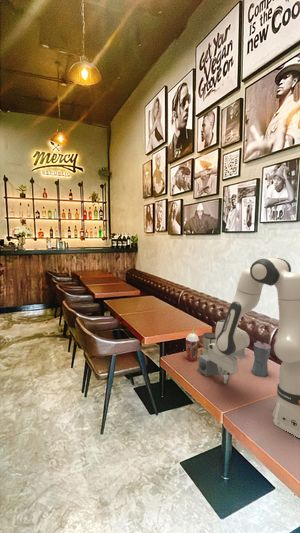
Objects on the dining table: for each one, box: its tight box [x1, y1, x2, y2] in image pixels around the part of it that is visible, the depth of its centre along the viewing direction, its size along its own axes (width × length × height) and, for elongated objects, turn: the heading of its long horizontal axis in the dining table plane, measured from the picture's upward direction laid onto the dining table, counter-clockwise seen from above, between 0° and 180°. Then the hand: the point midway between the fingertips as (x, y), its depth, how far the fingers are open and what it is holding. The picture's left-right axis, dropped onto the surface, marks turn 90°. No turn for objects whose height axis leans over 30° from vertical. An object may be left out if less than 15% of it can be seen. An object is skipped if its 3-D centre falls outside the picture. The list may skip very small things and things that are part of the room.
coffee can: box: [201, 332, 216, 355], centre depth 183 cm, size 10×10×14 cm
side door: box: [223, 371, 231, 385], centre depth 150 cm, size 2×21×8 cm, turn 156°
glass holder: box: [232, 348, 246, 360], centre depth 185 cm, size 9×14×15 cm, turn 29°
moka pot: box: [251, 339, 272, 378], centre depth 159 cm, size 10×15×20 cm, turn 11°
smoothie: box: [185, 328, 200, 362], centre depth 175 cm, size 8×8×20 cm
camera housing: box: [197, 354, 220, 377], centre depth 161 cm, size 8×17×10 cm, turn 114°
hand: (221, 374), depth 147 cm, fingers closed
